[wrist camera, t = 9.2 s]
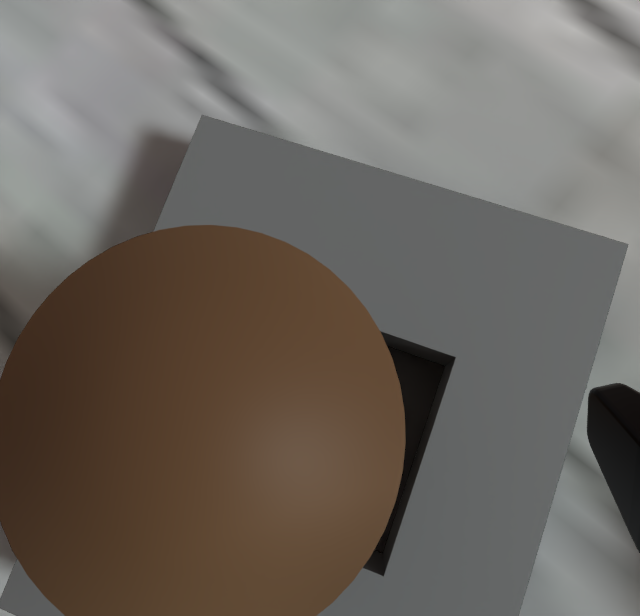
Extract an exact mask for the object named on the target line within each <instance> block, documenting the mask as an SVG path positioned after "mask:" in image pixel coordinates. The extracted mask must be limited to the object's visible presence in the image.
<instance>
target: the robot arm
mask: <svg viewBox="0 0 640 616" xmlns="http://www.w3.org/2000/svg"><path fill="white" fill-rule="evenodd" d="M587 435H588V439H589V443H590V446H591V448H592V451H593V453H594V455H595V457H596V459H597V462H598V464H599V466H600V468H601V471H602V473H603V475H604V477H605V479H606V482H607V484H608V486H609V488H610V491H611V493H612V495H613V497H614V499H615V502H616V504H617V506H618V508H619V511H620V513H621V515H622V517H623V519H624V522H625V524H626V526H627V528H628V530H629V533H630V535H631V537H632V539H633V541H634V543H635V545H636V547H637V549H638V551H639V553H640V393H639V392H638V391H636V390H634V389H632V388H630V387H629V386H627V385H624V384H621V383H615V384H610V385H605V386H601V387H596V388H593V389H592V390H591V391H590V393H589V397H588V417H587Z"/></svg>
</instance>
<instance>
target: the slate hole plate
mask: <svg viewBox="0 0 640 616" xmlns="http://www.w3.org/2000/svg"><path fill="white" fill-rule="evenodd" d="M191 225H218V226H229V227H238V228H242V229H246V230H251V231H255V232H259V233H263V234H266V235H268V236H271V237H274V238H276V239H279V240H282V241H284V242H287V243H289V244H290V245H292V246H294V247H296V248H298V249H300V250H302V251H304V252H305V253H307V254H309V255H310V256H312V257H313V258H315V259H316V260H317V261H319V262H320V263H322V264H323V265H324V266H326V267H327V268H329V269H330V270H331V271H332V272H333V273H334V274H335V275H336V276H337V277H338V278H340V279H341V280H342V281H343V282H344V283H345V284H346V285H347V286H348V287H349V288H350V289H351V290H352V292H353V293H354V294H355V295H356V297H357V298H358V299H359V300H360V301H361V303H362V304H363V305H364V306H365V308H366V309H367V311H368V312H369V314H370V315H371V317H372V319H373V320H374V322H375V324H376V325H377V327H378V328H379V330H380V332H381V334H382V336H383V338H384V340H385V343H386V345H387V346H389V347H392V348H395V349H398V350H401V351H404V352H407V353H409V354H412V355H415V356H418V357H421V358H424V359H427V360H430V361H432V362H435V363H438V364H441V365H444V366H445V368H444V371H443V374H442V377H441V380H440V383H439V386H438V389H437V392H436V395H435V398H434V401H433V404H432V407H431V410H430V413H429V416H428V419H427V422H426V425H425V428H424V431H423V434H422V437H421V440H420V443H419V446H418V449H417V452H416V455H415V458H414V461H413V464H412V467H411V470H410V473H409V476H408V479H407V482H406V485H405V488H404V491H403V494H402V497H401V500H400V503H399V506H398V509H397V512H396V515H395V518H394V521H393V524H392V527H391V530H390V533H389V536H388V539H387V542H386V546H385V549H384V552H383V554H381V553H379V552H376V551H373V553H372V555H371V557H370V558H369V560H368V561H367V562H366V564H365V565H364V566H363V568H362V569H361V571H360V572H359V573H358V575H357V576H356V578H355V579H354V580H353V582H352V583H351V584H350V585H349V586H348V587H347V588H346V589H345V590H344V591H343V592H342V593H341V594H340V595H339V596H338V597H337V599H336V600H335V601H334V602H333V603H332V604H330V605H329V606H328V607H327V608H325V609H324V610H323V611H322V612H321V613H319V614H318V615H317V616H519V613H520V609H521V606H522V603H523V599H524V596H525V593H526V589H527V586H528V582H529V579H530V576H531V572H532V569H533V565H534V562H535V559H536V555H537V552H538V549H539V545H540V542H541V538H542V535H543V532H544V528H545V525H546V522H547V518H548V515H549V511H550V508H551V505H552V501H553V498H554V494H555V491H556V488H557V484H558V481H559V478H560V474H561V471H562V467H563V464H564V461H565V457H566V454H567V450H568V447H569V444H570V440H571V437H572V434H573V430H574V427H575V423H576V420H577V417H578V413H579V410H580V407H581V403H582V400H583V396H584V393H585V390H586V386H587V383H588V379H589V376H590V373H591V369H592V366H593V363H594V359H595V356H596V352H597V349H598V346H599V342H600V339H601V335H602V332H603V329H604V325H605V322H606V319H607V315H608V312H609V308H610V305H611V302H612V298H613V295H614V292H615V288H616V285H617V281H618V278H619V275H620V271H621V268H622V264H623V261H624V258H625V254H626V251H627V248H628V244H626V243H623V242H619V241H616V240H613V239H609V238H606V237H603V236H600V235H596V234H593V233H590V232H586V231H583V230H580V229H577V228H573V227H570V226H567V225H563V224H560V223H557V222H554V221H550V220H547V219H544V218H540V217H537V216H534V215H530V214H527V213H524V212H521V211H517V210H514V209H511V208H507V207H504V206H501V205H498V204H494V203H491V202H488V201H484V200H481V199H478V198H474V197H471V196H468V195H465V194H461V193H458V192H455V191H451V190H448V189H445V188H442V187H438V186H435V185H432V184H428V183H425V182H422V181H418V180H415V179H412V178H409V177H405V176H402V175H399V174H395V173H392V172H389V171H386V170H382V169H379V168H376V167H372V166H369V165H366V164H362V163H359V162H356V161H353V160H349V159H346V158H343V157H339V156H336V155H333V154H330V153H326V152H323V151H320V150H316V149H313V148H310V147H307V146H303V145H300V144H297V143H293V142H290V141H287V140H283V139H280V138H277V137H274V136H270V135H267V134H264V133H260V132H257V131H254V130H251V129H247V128H244V127H241V126H237V125H234V124H231V123H227V122H224V121H221V120H218V119H214V118H211V117H208V116H204V115H202V116H201V118H200V121H199V123H198V126H197V128H196V130H195V133H194V135H193V138H192V140H191V142H190V145H189V147H188V150H187V152H186V154H185V157H184V159H183V162H182V164H181V166H180V169H179V171H178V173H177V176H176V178H175V181H174V183H173V185H172V188H171V190H170V193H169V195H168V197H167V200H166V202H165V205H164V207H163V209H162V212H161V214H160V217H159V219H158V221H157V224H156V226H155V229H154V231H158V230H162V229H168V228H174V227H180V226H191ZM154 231H153V232H154ZM0 608H1V609H3V610H5V611H7V612H9V613H12V614H14V615H16V616H65V615H64V614H63V613H61V612H60V611H59V610H58V609H57V608H56V607H55V606H54V605H53V604H52V603H51V602H50V601H49V600H48V599H47V598H46V597H45V596H44V595H43V594H42V593H41V591H40V590H39V589H38V588H37V587H36V585H35V584H34V583H33V582H32V580H31V579H30V578H29V577H28V575H27V574H26V572H25V571H24V569H23V567H22V566H21V564H20V562H19V561H18V559H17V560H16V562H15V564H14V567H13V569H12V572H11V574H10V576H9V579H8V581H7V584H6V586H5V588H4V591H3V593H2V596H1V598H0Z"/></svg>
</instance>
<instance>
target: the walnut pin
mask: <svg viewBox="0 0 640 616" xmlns="http://www.w3.org/2000/svg"><path fill="white" fill-rule="evenodd" d="M405 444H406V439H405V412H404V405H403V399H402V393H401V387H400V382H399V379H398V376H397V372H396V369H395V366H394V362H393V359H392V356H391V354H390V352H389V349H388V347H387V345H386V343H385V340H384V338H383V336H382V334H381V332H380V330H379V328H378V327H377V325H376V324H375V322H374V320H373V319H372V317H371V315H370V314H369V312H368V311H367V309H366V308H365V306H364V305H363V304H362V303H361V301H360V300H359V299H358V298H357V297H356V295H355V294H354V293H353V292H352V290H351V289H350V288H349V287H348V286H347V285H346V284H345V283H344V282H343V281H342V280H341V279H340V278H338V277H337V276H336V275H335V274H334V273H333V272H332V271H331V270H330V269H329V268H327V267H326V266H324V265H323V264H322V263H320V262H319V261H317V260H316V259H315V258H313V257H312V256H310V255H309V254H307V253H305V252H304V251H302V250H300V249H298V248H296V247H294V246H292V245H290V244H289V243H287V242H284V241H282V240H279V239H276V238H274V237H271V236H268V235H266V234H263V233H259V232H255V231H251V230H246V229H242V228H238V227H229V226H218V225H191V226H180V227H174V228H168V229H162V230H158V231H154V232H151V233H147V234H144V235H141V236H137V237H134V238H132V239H130V240H127V241H125V242H123V243H121V244H118V245H116V246H114V247H111V248H110V249H108V250H106V251H105V252H103V253H101V254H99V255H98V256H96V257H94V258H93V259H91V260H89V261H88V262H87V263H85V264H84V265H83V266H81V267H80V268H79V269H77V270H76V271H75V272H73V273H72V274H71V275H70V276H68V277H67V278H66V279H65V280H64V281H63V282H62V283H61V284H60V285H59V286H58V287H57V288H56V289H55V290H54V291H53V292H52V293H51V294H50V295H49V296H48V297H47V298H46V300H45V301H44V302H43V303H42V304H41V306H40V307H39V308H38V309H37V311H36V312H35V313H34V314H33V315H32V317H31V319H30V320H29V322H28V323H27V325H26V326H25V328H24V330H23V331H22V333H21V334H20V336H19V337H18V339H17V341H16V343H15V345H14V348H13V350H12V352H11V354H10V356H9V358H8V360H7V362H6V365H5V368H4V370H3V373H2V376H1V379H0V522H1V525H2V527H3V530H4V532H5V534H6V537H7V539H8V541H9V544H10V546H11V548H12V550H13V552H14V554H15V556H16V557H17V559H18V561H19V562H20V564H21V566H22V567H23V569H24V571H25V572H26V574H27V575H28V577H29V578H30V579H31V580H32V582H33V583H34V584H35V585H36V587H37V588H38V589H39V590H40V591H41V593H42V594H43V595H44V596H45V597H46V598H47V599H48V600H49V601H50V602H51V603H52V604H53V605H54V606H55V607H56V608H57V609H58V610H59V611H60V612H61V613H63V614H64V615H65V616H317V615H318V614H319V613H321V612H322V611H323V610H324V609H325V608H327V607H328V606H329V605H330V604H332V603H333V602H334V601H335V600H336V599H337V597H338V596H339V595H340V594H341V593H342V592H343V591H344V590H345V589H346V588H347V587H348V586H349V585H350V584H351V583H352V582H353V580H354V579H355V578H356V576H357V575H358V573H359V572H360V571H361V569H362V568H363V566H364V565H365V564H366V562H367V561H368V560H369V558H370V557H371V555H372V553H373V551H374V549H375V548H376V546H377V544H378V542H379V540H380V538H381V536H382V534H383V533H384V531H385V529H386V526H387V523H388V521H389V518H390V515H391V513H392V510H393V507H394V505H395V502H396V498H397V494H398V490H399V485H400V481H401V477H402V473H403V463H404V453H405Z"/></svg>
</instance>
